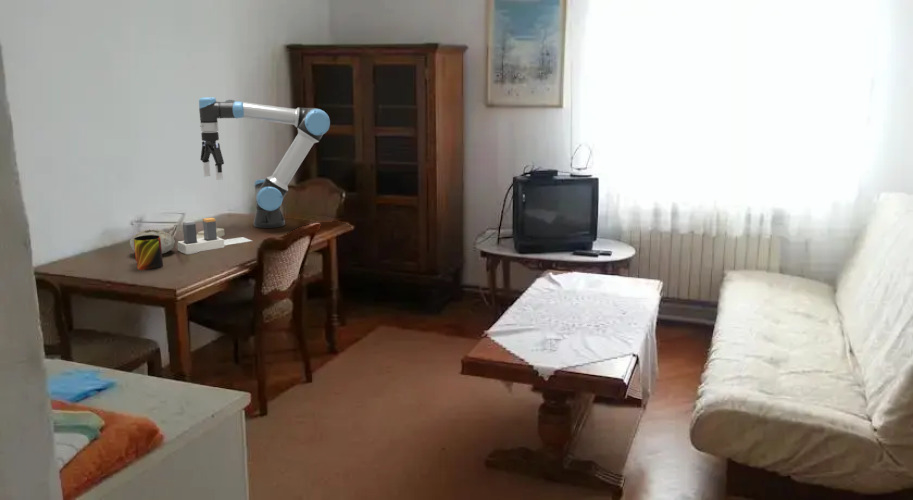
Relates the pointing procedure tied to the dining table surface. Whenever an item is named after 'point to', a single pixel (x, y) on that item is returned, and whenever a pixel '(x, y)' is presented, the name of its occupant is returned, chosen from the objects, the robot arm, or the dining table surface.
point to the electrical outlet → (218, 231)
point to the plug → (209, 229)
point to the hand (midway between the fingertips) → (213, 177)
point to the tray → (236, 240)
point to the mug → (148, 252)
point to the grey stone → (166, 238)
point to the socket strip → (200, 245)
